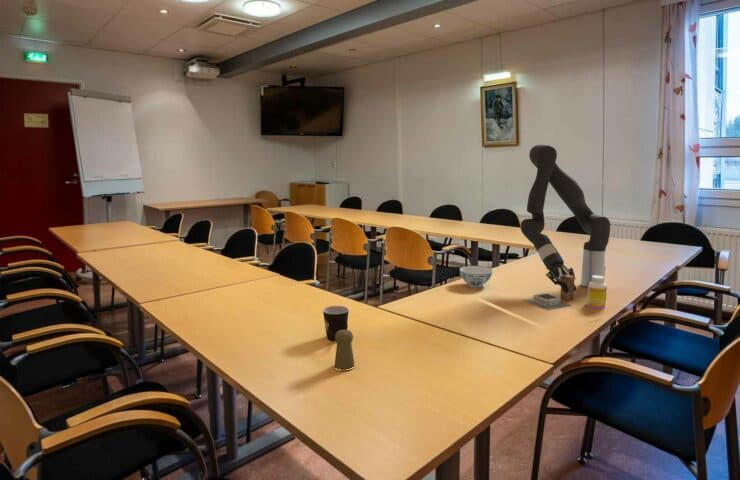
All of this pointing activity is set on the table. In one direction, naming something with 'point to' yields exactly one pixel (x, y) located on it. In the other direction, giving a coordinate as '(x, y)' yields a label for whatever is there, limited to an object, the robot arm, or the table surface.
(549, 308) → the coaster
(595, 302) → the supplement bottle
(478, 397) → the table surface
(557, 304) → the open square frame
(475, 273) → the chinaware
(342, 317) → the coffee mug
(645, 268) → the table surface
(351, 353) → the cork
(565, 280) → the brown wooden block
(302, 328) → the table surface
